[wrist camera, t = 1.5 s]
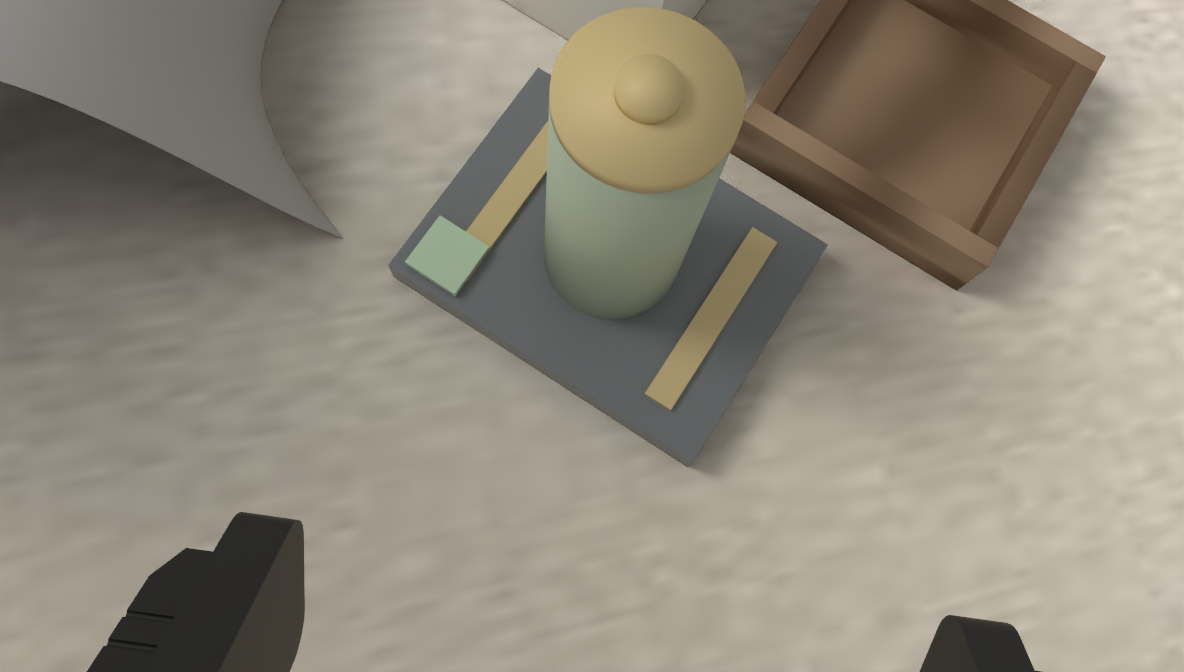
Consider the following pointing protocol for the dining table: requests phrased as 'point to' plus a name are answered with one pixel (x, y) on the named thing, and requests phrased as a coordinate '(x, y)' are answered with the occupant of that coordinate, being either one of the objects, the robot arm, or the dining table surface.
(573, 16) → the white planter box
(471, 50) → the dining table surface
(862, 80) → the brown wooden tray
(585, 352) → the grey board
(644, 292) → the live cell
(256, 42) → the sculpture
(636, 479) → the dining table surface
